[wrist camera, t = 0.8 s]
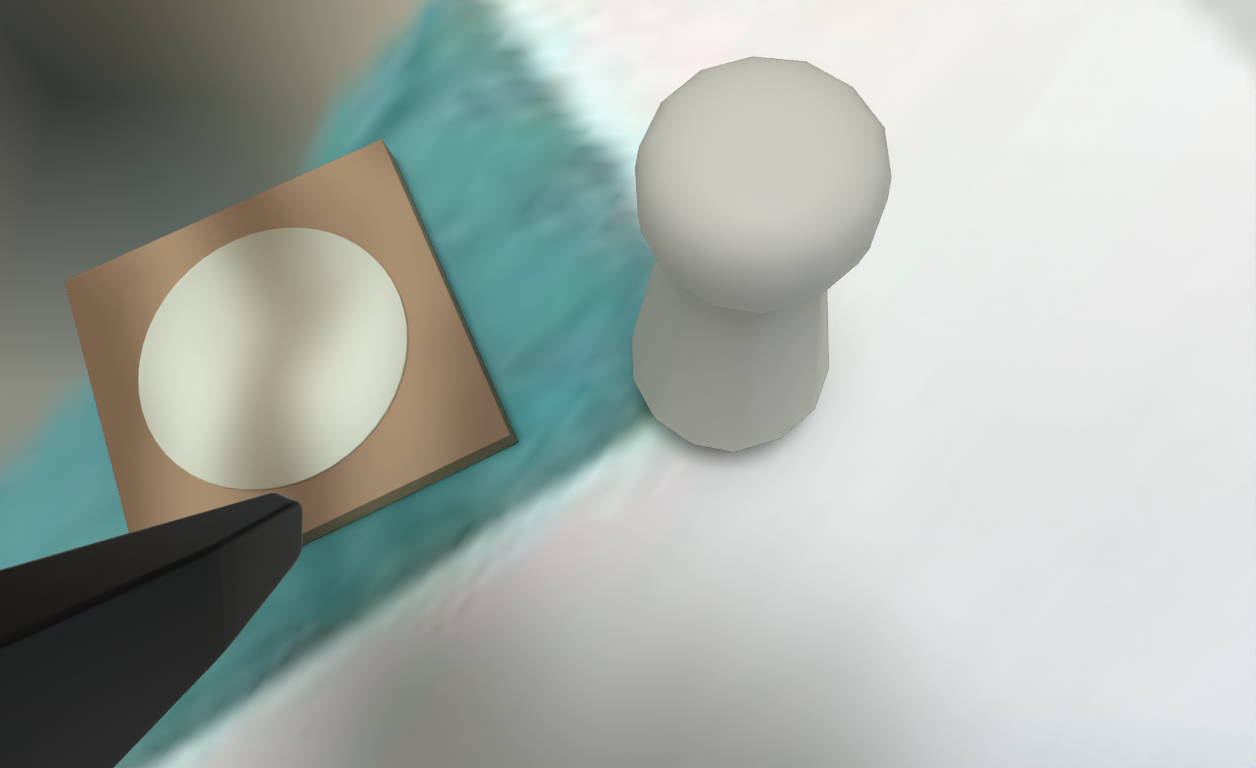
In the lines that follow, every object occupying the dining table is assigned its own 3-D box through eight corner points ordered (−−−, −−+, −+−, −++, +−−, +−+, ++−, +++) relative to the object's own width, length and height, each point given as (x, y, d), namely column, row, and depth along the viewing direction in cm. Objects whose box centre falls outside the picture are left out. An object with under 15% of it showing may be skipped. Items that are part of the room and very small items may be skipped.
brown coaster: (174, 606, 23) (143, 607, 22) (91, 294, 26) (59, 278, 25) (518, 442, 24) (508, 433, 22) (394, 158, 27) (379, 136, 26)
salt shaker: (824, 309, 24) (974, 10, 12) (803, 478, 23) (949, 340, 10) (651, 284, 25) (621, -24, 12) (620, 446, 23) (549, 281, 11)
